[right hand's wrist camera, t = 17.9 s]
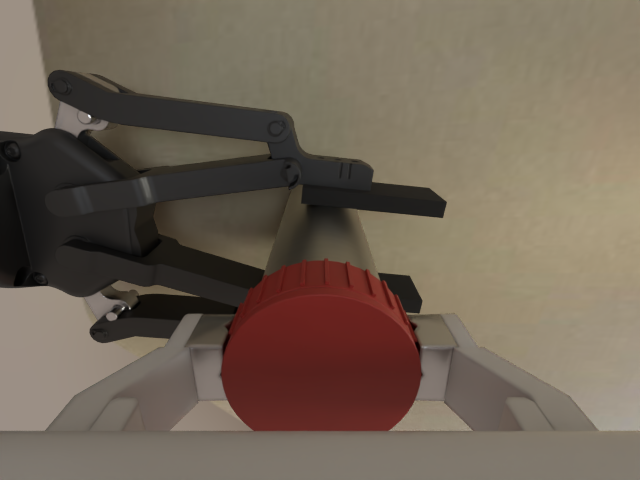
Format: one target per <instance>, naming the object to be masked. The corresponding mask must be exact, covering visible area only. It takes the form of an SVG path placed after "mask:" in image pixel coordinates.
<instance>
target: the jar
mask: <svg viewBox="0 0 640 480" xmlns="http://www.w3.org/2000/svg"><path fill="white" fill-rule="evenodd" d="M302 187H303V185H297V186H296V187H295V188H294V189H292V191H291V193H290V196H289V199H288V202H287V205H286V208H285V211H284V214H283V217H282V220H281V223H280V226H279V229H278V232H277V235H276V238H275V241H274V245H273V248H272V251H271V254H270V257H269V260H268V263H267V266H266V269H265V272H264V275H263V276H265V275H267V276H269V275H271V274H272V273H274V272H276V271H278V270H280V269H281V266H283V265H285V266H286V267H287V266H290V265H293V264H297V263H301V262H302V260H305V259H306V261H322V260H324V258H328V261H336V262H341V263H346V261H347V262H350V265H352V266H355V267H358V268H360V269H362V270H364V271H365V270H366V269H368V270H370V274H372V275H373V276H375V277H376V278H377V279H379V280H380V278H379V275H378V272H377V269H376V266H375V263H374V260H373V257H372V254H371V251H370V248H369V245H368V242H367V239H366V236H365V233H364V230H363V227H362V224H361V221H360V218H359V215H358V212H357V209H349V208H339V207H328V206H318V205H308V204H301V198H302ZM262 279H263V278H262Z"/></svg>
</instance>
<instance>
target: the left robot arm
mask: <svg viewBox="0 0 640 480" xmlns="http://www.w3.org/2000/svg"><path fill="white" fill-rule="evenodd" d="M48 87H49V90H50V92H51V93H52V95H53V96H54V97H55V98H57V99H58V100H59V101H60V105H59V110H58V115H57V119H56V124H55V128H49V129H45V130H42V131H40V132H38V133H36V134H34V135H33V134H23V133H13V132H4V131H0V287H1V288H23V287H35V286H51V287H54V288H57V289H59V290H62V291H63V292H65V293H67V294H69V295H72V296H75V297H84V298H85V300H86V302H87V303H88V305H89V307H90V308H91V310H92V312H93V313H94V315H95V317H96V318H97V320H98V321H97V322H96V323H95V324H94V325H93V326H92V327H91V328H90V335H91V337H92V338H93V339H94V340H96V341H97V342H101V343H108V342H112V341H116V340H121V339H125V338H129V337H134V336H139V337H153V338H167V339H170V337H171V336H172V334H173V333H174V331H175V330H176V328H177V326H178V325H179V323H180V322H181V320H182V319H183V317H184V316H185V315H186V314H236V312H237V310H238V307H239V305H240V303H244V301H245V299H246V297H247V294H248V291H249V289H250V288H253V289H254V288H255V287H256V286H257V285H258V284H259V283H260V282H261V281H262V278H263V275H264V272H265V270H262V269H259V268H255V267H252V266H249V265H245V264H242V263H239V262H235V261H232V260H229V259H225V258H222V257H219V256H215V255H212V254H209V253H205V252H202V251H199V250H195V249H192V248H189V247H185V246H182V245H180V244H179V243H178V241H177V240H176V239H173V238H170V237H167V236H163V235H160V234H158V230H157V227H156V224H155V221H154V219H153V214H154V209H155V205H156V202H163V201H171V200H179V199H188V198H196V197H204V196H212V195H221V194H229V193H237V192H245V191H253V190H262V189H270V188H278V187H286V186H289V190H291V189H294V188H295V187H296V186H297V185H303V187H302V198H301V204H308V205H318V206H328V207H339V208H349V209H359V210H369V211H379V212H389V213H399V214H409V215H419V216H429V217H439V218H443V215H444V211H445V207H446V203H447V202H446V201H445V200H443V199H442V198H441V197H440V196H438V195H437V194H436V193H435V192H433V191H432V190H431V189H430V188H423V187H413V186H404V185H394V184H384V183H375V182H372V178H373V171H374V170H373V169H372V168H371V166H370V165H369V164H367V163H365V162H363V161H361V160H357V159H347V158H338V157H328V156H319V155H311V154H308V153H306V152H304V151H303V150H302V149H301V147H300V146H299V143H298V140H297V136H296V132H295V128H294V121H293V119H292V117H291V116H290V115H289V114H287V113H285V112H280V111H272V110H264V109H256V108H248V107H240V106H232V105H224V104H216V103H208V102H200V101H192V100H184V99H176V98H169V97H161V96H153V95H145V94H137V93H135V92H133V91H131V90H129V89H127V88H125V87H123V86H121V85H119V84H117V83H115V82H113V81H111V80H109V79H107V78H105V77H103V76H100V75H97V74H89V73H81V72H72V71H64V70H57V71H53V72H52V73H51V74H50V75H49V77H48ZM118 124H122V125H129V126H137V127H146V128H154V129H162V130H170V131H179V132H187V133H195V134H203V135H212V136H220V137H228V138H236V139H245V140H253V141H261V142H267V143H268V146H269V150H270V153H271V154H266V155H258V156H250V157H243V158H235V159H227V160H219V161H211V162H203V163H195V164H187V165H179V166H162V167H154V168H146V169H138V170H135V169H134V168H132V167H131V166H130V165H128V164H127V163H126V162H124V161H123V160H122V159H120V158H119V157H118V156H117V155H115V154H114V153H113V152H111V151H110V150H109V149H107V148H106V147H105V146H103V145H102V144H101V143H100V142H98V141H97V140H96V139H94V138H93V137H92V136H90V134H91V132H92V131H93V130H95V131H100V130H108V129H113V128H115V127H116V126H117V125H118ZM378 275H379V278H380V281H381V282H382V281H383V280H384V281H385V282H386V284H387V286H388V288H389V290H390V291H391V292H392V293H393V295H396V294H397V296H398V297H399V300H400V302H401V305H402V307H403V310H405V312H409V313H420V309H421V305H422V299H421V297H420V295H419V293H418V291H417V289H416V287H415V285H414V283H413V281H412V280H411V278H410V276H406V275H395V274H385V273H378ZM118 280H121V281H125V282H128V283H132V284H135V285H139V286H144V287H147V286H152V285H161V286H165V287H168V288H172V289H175V290H179V291H182V292H186V293H190V294H193V295H197V296H200V297H194V296H181V295H168V294H145V295H140V296H139V293H138V292H137V291H136V290H130V291H129V292H128V291H118V290H116V289H114V288H113V287H112V286H111V284H113V283H115V282H116V281H118Z"/></svg>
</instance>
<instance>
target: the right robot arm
mask: <svg viewBox="0 0 640 480" xmlns="http://www.w3.org/2000/svg"><path fill="white" fill-rule="evenodd" d="M235 315H236V314H186V315H185V316H184V317H183V319H182V320H181V322H180V323H179V325H178V326H177V328H176V330H175V331H174V333H173V334H172V336H171V337H170V339H169V340H168V342H167V344H166V345H165V347H159V348H157V349H155V350H154V351H152V352H150V353H148V354H147V355H145V356H143V357H141V358H140V359H138V360H136V361H134V362H133V363H131V364H129V365H127V366H126V367H124V368H122V369H120V370H119V371H117V372H115V373H113V374H112V375H110V376H108V377H106V378H105V379H103V380H101V381H99V382H98V383H96V384H94V385H92V386H91V387H89V388H87V389H85V390H84V391H82V392H80V393H78V394H77V395H75V396H74V397H73V398H72V399H71V400H70V402H69V403H68V404H67V405H66V406H65V408H64V409H63V410H62V411H61V412H60V414H59V415H58V416H57V417H56V418H55V419H54V421H53V422H52V423H51V424H50V425H49V427H48V428H47V429H46V430H45V431H0V480H640V431H599V430H598V429H597V428H596V427H595V426H594V424H593V423H592V422H591V421H590V420H589V419H588V417H587V416H586V415H585V414H584V413H583V411H582V410H581V409H580V408H579V407H578V406H577V404H576V403H575V402H574V401H573V400H572V398H571V397H570V396H568V395H567V394H565V393H563V392H561V391H560V390H558V389H556V388H554V387H553V386H551V385H549V384H547V383H545V382H544V381H542V380H540V379H538V378H537V377H535V376H533V375H531V374H530V373H528V372H526V371H524V370H523V369H521V368H519V367H517V366H516V365H514V364H512V363H510V362H509V361H507V360H505V359H503V358H502V357H500V356H498V355H496V354H495V353H493V352H491V351H489V350H487V349H486V348H484V347H478V346H477V344H476V343H475V341H474V340H473V338H472V336H471V335H470V333H469V332H468V330H467V329H466V327H465V326H464V324H463V323H462V321H461V320H460V318H459V317H458V315H456V314H430V315H407V317H408V319H409V322H410V324H411V327H412V329H413V331H414V334H415V336H416V339H417V342H415V345H416V348H417V350H418V353H419V357H420V362H421V382H420V387H419V390H418V394H417V396H416V399H415V400H426V401H444V403H445V404H446V405H447V406H449V407H450V408H451V409H452V410H453V411H454V412H455V413H456V414H457V415H458V416H459V417H460V418H461V419H462V420H463V421H464V422H465V423H466V424H467V425H468V426H469V427H470V428H471V429H472V430H473V431H170V430H171V429H172V428H173V427H174V426H175V425H176V424H177V423H178V422H179V421H180V420H181V419H182V418H183V417H184V416H185V415H186V414H187V413H188V412H189V411H190V410H191V409H192V408H193V407H194V406H195V405H196V404H197V403H198V401H216V400H227V398H226V395H225V392H224V389H223V384H222V378H221V365H222V360H223V355H224V352H225V349H226V346H227V344H228V341H229V334H228V333H229V330H230V328H231V325H232V323H233V320H234V317H235Z"/></svg>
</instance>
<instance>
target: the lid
mask: <svg viewBox="0 0 640 480" xmlns="http://www.w3.org/2000/svg"><path fill="white" fill-rule="evenodd" d="M228 334H229V341H228V344H227V346H226V349H225V352H224V355H223V360H222V365H221V378H222V384H223V389H224V392H225V395H226V398H227V400H228V402H229V404H230V406H231V407H232V409H233V410H234V412H235V413H236V414H237V416H238V417H239V418H240V419H241V420H242V421H243V422H244V423H245V424H246V425H247V426H249V427H250V428H251V429H252V430H254V431H389V430H390V429H391V428H393V427H394V426H395V425H396V424H397V423H398V422H399V421H400V420H401V419H402V418H403V417H404V416H405V415H406V414H407V412H408V411H409V409H410V408H411V406H412V405H413V403H414V401H415V399H416V396H417V394H418V390H419V387H420V382H421V362H420V357H419V353H418V350H417V348H416V345H415V342H417V339H416V336H415V334H414V331H413V329H412V327H411V324H410V322H409V319H408V317H407V314H406V312H405V310H403V307H402V305H401V302H400V300H399V297H398V296H397V294H396V295H393V293H392V292H391V291H390V290H389V288H388V286H387V284H386V282H385V281H384V280H383V281H382V282H381V281H380V280H379V279H377V278H376V277H375V276H373V275H372V274H370V270H368V269H366V270H365V271H364V270H362V269H360V268H358V267H355V266H352V265H350V262H347V261H346V263H341V262H336V261H328V258H324V260H322V261H306V259H305V260H302V262H301V263H297V264H293V265H290V266H287V267H286V266H285V265H283V266H281V269H280V270H278V271H276V272H274V273H272V274H271V275H269V276H267V275H265V276H263V279H262V281H261V282H260V283H259V284H258V285H257V286H256V287H255V288H254V289H253V288H250V289H249V291H248V294H247V297H246V299H245V301H244V303H240V305H239V307H238V310H237V312H236V315H235V317H234V320H233V323H232V325H231V328H230V330H229V333H228Z"/></svg>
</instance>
